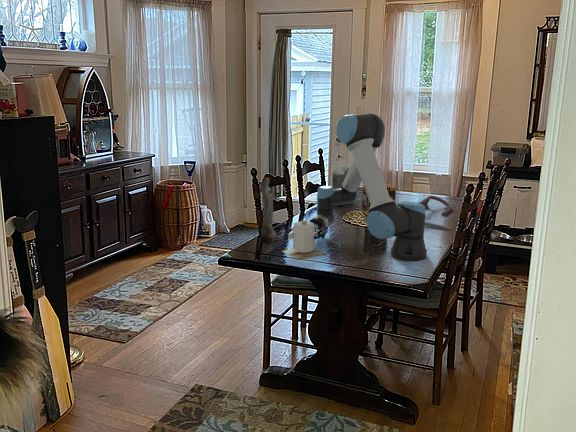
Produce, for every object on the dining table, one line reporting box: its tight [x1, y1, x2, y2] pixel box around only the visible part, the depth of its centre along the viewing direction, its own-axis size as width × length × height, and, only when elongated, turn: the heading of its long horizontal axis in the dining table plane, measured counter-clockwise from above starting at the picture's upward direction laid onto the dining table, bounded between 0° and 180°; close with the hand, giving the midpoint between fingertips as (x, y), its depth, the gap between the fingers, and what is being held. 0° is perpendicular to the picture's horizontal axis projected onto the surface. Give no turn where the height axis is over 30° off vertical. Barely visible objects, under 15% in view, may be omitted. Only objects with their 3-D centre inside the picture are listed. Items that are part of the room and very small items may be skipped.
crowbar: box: [424, 221, 451, 231], centre depth 284 cm, size 40×2×5 cm, turn 60°
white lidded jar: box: [292, 219, 316, 252], centre depth 233 cm, size 9×9×12 cm
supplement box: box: [361, 183, 397, 214], centre depth 304 cm, size 10×15×16 cm
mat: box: [324, 237, 341, 246], centre depth 250 cm, size 12×12×1 cm
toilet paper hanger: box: [418, 195, 453, 217], centre depth 311 cm, size 28×7×17 cm
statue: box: [259, 177, 279, 244], centre depth 252 cm, size 8×7×30 cm
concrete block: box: [331, 166, 350, 206], centre depth 329 cm, size 27×9×20 cm, turn 164°
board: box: [281, 248, 327, 261], centre depth 235 cm, size 14×14×1 cm
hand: (300, 238), depth 229 cm, fingers closed on white lidded jar, 9 cm apart
